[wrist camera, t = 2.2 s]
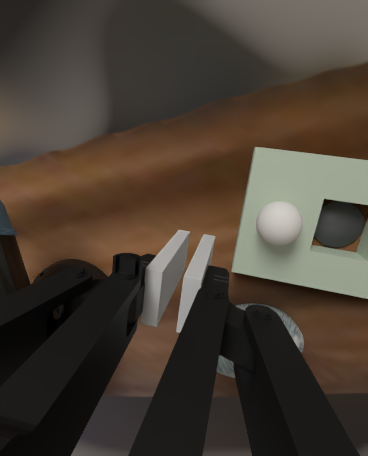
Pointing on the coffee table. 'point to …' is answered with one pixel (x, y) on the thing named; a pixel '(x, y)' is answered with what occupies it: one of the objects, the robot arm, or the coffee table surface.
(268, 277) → the green board
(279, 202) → the ball
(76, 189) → the coffee table surface
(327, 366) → the coffee table surface
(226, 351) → the robot arm
